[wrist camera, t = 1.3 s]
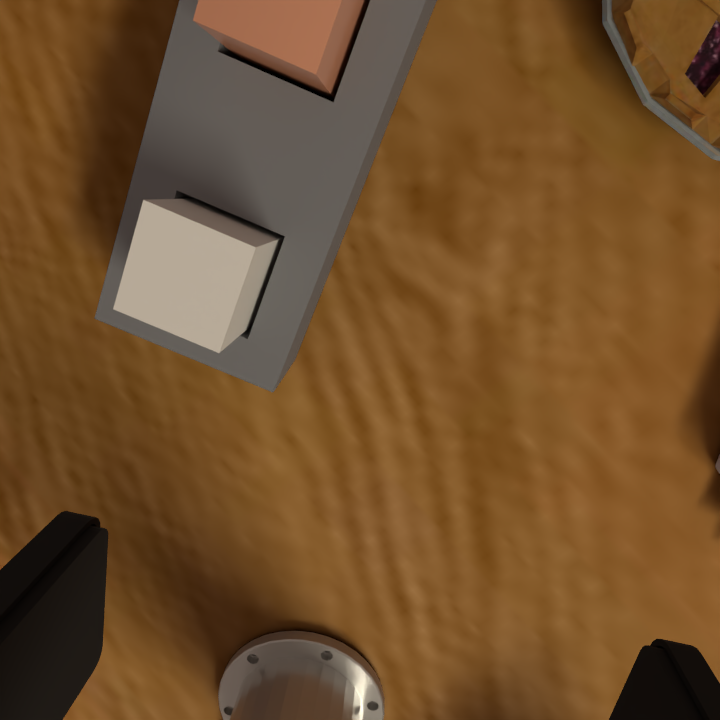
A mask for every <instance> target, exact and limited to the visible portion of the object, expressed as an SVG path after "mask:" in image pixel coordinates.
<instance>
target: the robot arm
mask: <svg viewBox="0 0 720 720" xmlns="http://www.w3.org/2000/svg"><path fill="white" fill-rule="evenodd" d="M107 548H108V531H107V529H105V528H100V521H99V519H98V518H96V517H91V516H87V515H82V514H77V513H73V512H68V511H64V512H61V513H60V514H59V515H57V516H56V517H55V518H54V519H53V520H52V521H51V522H50V523H49V524H48V525H47V526H46V527H45V528H44V529H43V530H42V531H41V532H40V533H38V534H37V535H36V536H35V537H34V538H33V539H32V540H31V541H30V542H29V543H28V544H27V545H26V546H25V547H24V548H23V549H22V550H21V551H20V552H19V553H18V554H17V555H15V556H14V557H13V558H12V559H11V560H10V561H9V562H8V563H7V564H6V565H5V566H4V567H3V568H2V569H1V570H0V720H62V719H63V718H64V716H65V715H66V713H67V712H68V710H69V709H70V707H71V705H72V704H73V702H74V701H75V699H76V698H77V696H78V695H79V693H80V691H81V690H82V688H83V687H84V685H85V684H86V682H87V680H88V679H89V677H90V676H91V674H92V673H93V671H94V669H95V667H96V665H97V663H98V661H99V658H100V655H101V652H102V646H103V627H104V607H105V587H106V568H107ZM218 700H219V709H220V712H221V715H222V718H223V720H383V719H384V694H383V689H382V685H381V683H380V681H379V679H378V677H377V674H376V673H375V671H374V670H373V669H372V667H371V666H370V665H369V663H368V662H367V661H366V660H365V659H364V658H363V657H362V656H361V655H359V654H358V653H357V652H356V651H355V650H353V649H351V648H350V647H348V646H347V645H345V644H344V643H342V642H339V641H337V640H335V639H333V638H330V637H328V636H324V635H320V634H317V633H313V632H304V631H281V632H276V633H271V634H267V635H264V636H261V637H259V638H257V639H254V640H252V641H251V642H249V643H248V644H246V645H245V646H243V647H242V648H240V649H239V650H238V651H237V652H236V654H235V655H234V656H233V657H232V658H231V660H230V661H229V663H228V665H227V666H226V668H225V671H224V674H223V676H222V679H221V682H220V686H219V692H218ZM609 720H720V683H719V682H718V680H717V678H716V677H715V675H714V674H713V672H712V670H711V669H710V667H709V665H708V664H707V662H706V661H705V659H704V657H703V656H702V654H701V653H700V652H699V650H698V649H697V648H695V647H694V646H691V645H687V644H682V643H677V642H673V641H668V640H663V639H656V640H654V641H653V642H652V644H651V645H650V646H644V647H642V649H641V650H640V652H639V655H638V657H637V659H636V661H635V663H634V666H633V668H632V670H631V672H630V674H629V677H628V679H627V681H626V683H625V685H624V688H623V690H622V692H621V694H620V696H619V699H618V701H617V703H616V705H615V707H614V710H613V712H612V714H611V716H610V718H609Z"/></svg>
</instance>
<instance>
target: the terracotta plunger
mask: <svg viewBox="0 0 720 720" xmlns="http://www.w3.org/2000/svg"><path fill="white" fill-rule="evenodd" d="M369 3H370V0H198V4H197V7H196V11H195V14H194V18H193V21H194V22H195V23H197V24H198V25H199V26H200V27H202V28H203V29H204V30H205V31H207V32H208V33H209V34H210V35H211V36H213V37H214V38H215V39H216V40H218V41H219V42H220V43H221V44H223V45H224V46H225V47H226V48H227V49H229V50H230V51H231V52H232V53H234V54H235V55H236V56H237V57H239V58H241V59H243V60H245V61H248V62H250V63H252V64H254V65H257V66H259V67H261V68H263V69H266V70H268V71H270V72H273V73H275V74H277V75H279V76H282V77H284V78H286V79H289V80H291V81H293V82H295V83H298V84H300V85H302V86H304V87H307V88H309V89H311V90H314V91H316V92H318V93H320V94H323V95H325V96H327V97H330V98H332V99H335V97H336V94H337V91H338V88H339V86H340V83H341V80H342V77H343V75H344V72H345V69H346V66H347V64H348V61H349V58H350V55H351V52H352V50H353V47H354V44H355V41H356V39H357V36H358V33H359V30H360V28H361V25H362V22H363V19H364V17H365V14H366V11H367V8H368V5H369Z"/></svg>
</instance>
